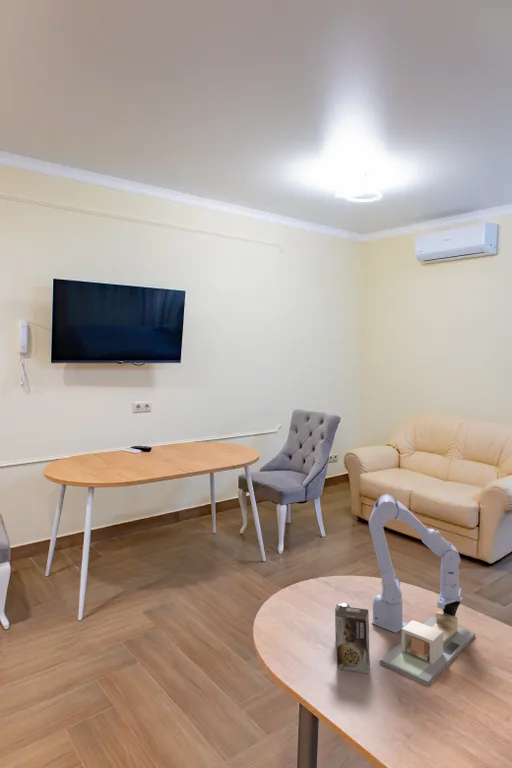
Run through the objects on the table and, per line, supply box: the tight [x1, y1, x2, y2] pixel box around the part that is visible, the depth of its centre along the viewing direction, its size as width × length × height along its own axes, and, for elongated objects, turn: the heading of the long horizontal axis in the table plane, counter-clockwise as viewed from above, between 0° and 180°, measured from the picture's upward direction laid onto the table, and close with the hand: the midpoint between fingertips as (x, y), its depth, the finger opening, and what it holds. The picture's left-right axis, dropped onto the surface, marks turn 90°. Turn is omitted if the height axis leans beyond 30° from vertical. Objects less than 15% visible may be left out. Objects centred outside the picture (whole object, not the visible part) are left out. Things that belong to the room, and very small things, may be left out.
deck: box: [379, 616, 476, 686], centre depth 155 cm, size 15×34×1 cm, turn 135°
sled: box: [407, 610, 458, 661], centre depth 156 cm, size 6×22×5 cm, turn 135°
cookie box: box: [335, 606, 371, 674], centre depth 147 cm, size 9×6×16 cm
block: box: [411, 636, 430, 655], centre depth 150 cm, size 4×4×4 cm
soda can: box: [334, 602, 351, 643], centre depth 159 cm, size 5×5×12 cm
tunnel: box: [401, 619, 443, 664], centre depth 151 cm, size 10×7×7 cm
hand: (449, 621), depth 165 cm, fingers closed
